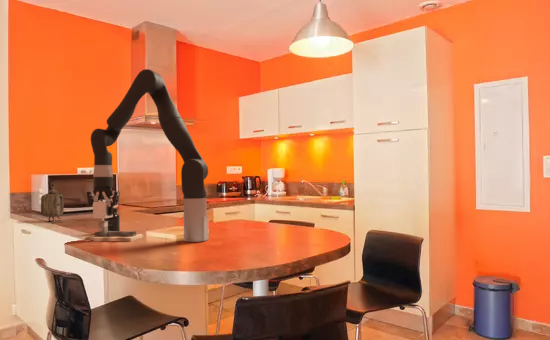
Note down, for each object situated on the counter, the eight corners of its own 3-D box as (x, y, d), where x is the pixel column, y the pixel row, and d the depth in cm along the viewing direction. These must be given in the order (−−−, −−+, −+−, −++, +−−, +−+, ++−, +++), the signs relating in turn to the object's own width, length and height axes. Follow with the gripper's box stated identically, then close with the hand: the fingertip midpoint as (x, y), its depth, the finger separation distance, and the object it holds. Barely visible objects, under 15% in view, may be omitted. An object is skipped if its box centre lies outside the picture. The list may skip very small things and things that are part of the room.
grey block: (112, 217, 170) (112, 201, 170) (105, 218, 165) (105, 202, 165) (100, 217, 171) (100, 201, 171) (93, 218, 165) (93, 202, 165)
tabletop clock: (56, 222, 242) (56, 182, 243) (40, 223, 240) (40, 182, 241) (63, 220, 256) (63, 182, 257) (48, 220, 254) (48, 182, 255)
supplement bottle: (122, 232, 188) (122, 207, 189) (113, 234, 182) (113, 208, 182) (110, 232, 190) (110, 207, 191) (100, 234, 184) (100, 208, 184)
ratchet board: (142, 237, 171) (142, 219, 171) (130, 241, 160) (130, 222, 161) (99, 237, 173) (99, 219, 174) (84, 241, 163) (84, 222, 163)
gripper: (123, 175, 171) (123, 214, 171) (92, 176, 173) (92, 214, 172) (114, 175, 164) (114, 216, 163) (82, 176, 165) (81, 216, 165)
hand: (103, 215), depth 168 cm, fingers closed on grey block, 5 cm apart
